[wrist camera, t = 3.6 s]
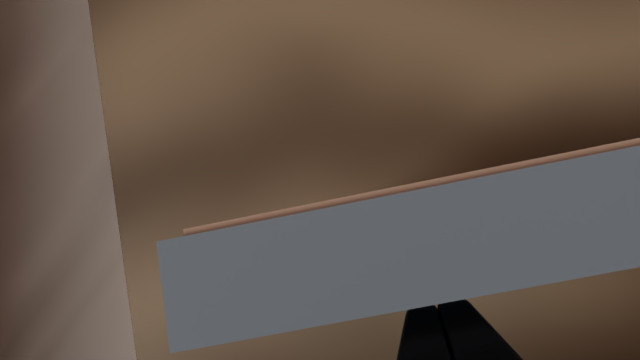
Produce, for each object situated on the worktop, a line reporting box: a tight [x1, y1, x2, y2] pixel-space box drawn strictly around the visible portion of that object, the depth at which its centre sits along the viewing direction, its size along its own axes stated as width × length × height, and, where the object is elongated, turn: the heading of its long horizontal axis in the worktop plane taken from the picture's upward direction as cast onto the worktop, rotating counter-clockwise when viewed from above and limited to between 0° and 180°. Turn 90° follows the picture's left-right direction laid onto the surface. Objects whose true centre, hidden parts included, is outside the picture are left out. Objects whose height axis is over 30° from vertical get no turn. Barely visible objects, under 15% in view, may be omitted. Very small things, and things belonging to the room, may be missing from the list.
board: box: [88, 0, 640, 360], centre depth 17 cm, size 13×15×1 cm
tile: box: [156, 138, 640, 353], centre depth 12 cm, size 2×7×8 cm, turn 101°
